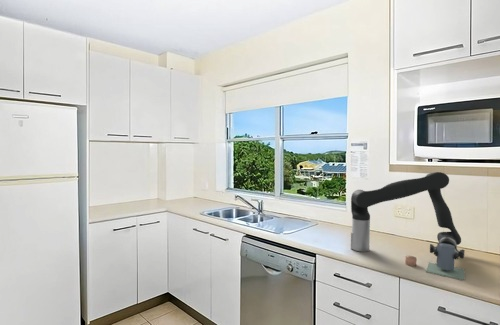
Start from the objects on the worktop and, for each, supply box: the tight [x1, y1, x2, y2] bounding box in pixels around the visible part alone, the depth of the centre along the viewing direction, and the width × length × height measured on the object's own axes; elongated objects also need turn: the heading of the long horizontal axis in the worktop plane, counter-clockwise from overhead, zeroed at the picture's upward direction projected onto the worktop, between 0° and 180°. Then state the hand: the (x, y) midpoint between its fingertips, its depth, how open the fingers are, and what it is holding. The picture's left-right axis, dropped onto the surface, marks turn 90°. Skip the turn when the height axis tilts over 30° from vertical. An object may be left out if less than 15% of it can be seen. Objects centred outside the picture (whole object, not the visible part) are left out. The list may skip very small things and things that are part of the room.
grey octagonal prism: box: [436, 242, 455, 270], centre depth 132 cm, size 6×6×10 cm
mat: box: [425, 262, 466, 281], centre depth 132 cm, size 14×13×1 cm
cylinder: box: [404, 255, 417, 267], centre depth 141 cm, size 5×5×4 cm
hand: (445, 255), depth 130 cm, fingers closed on grey octagonal prism, 6 cm apart
